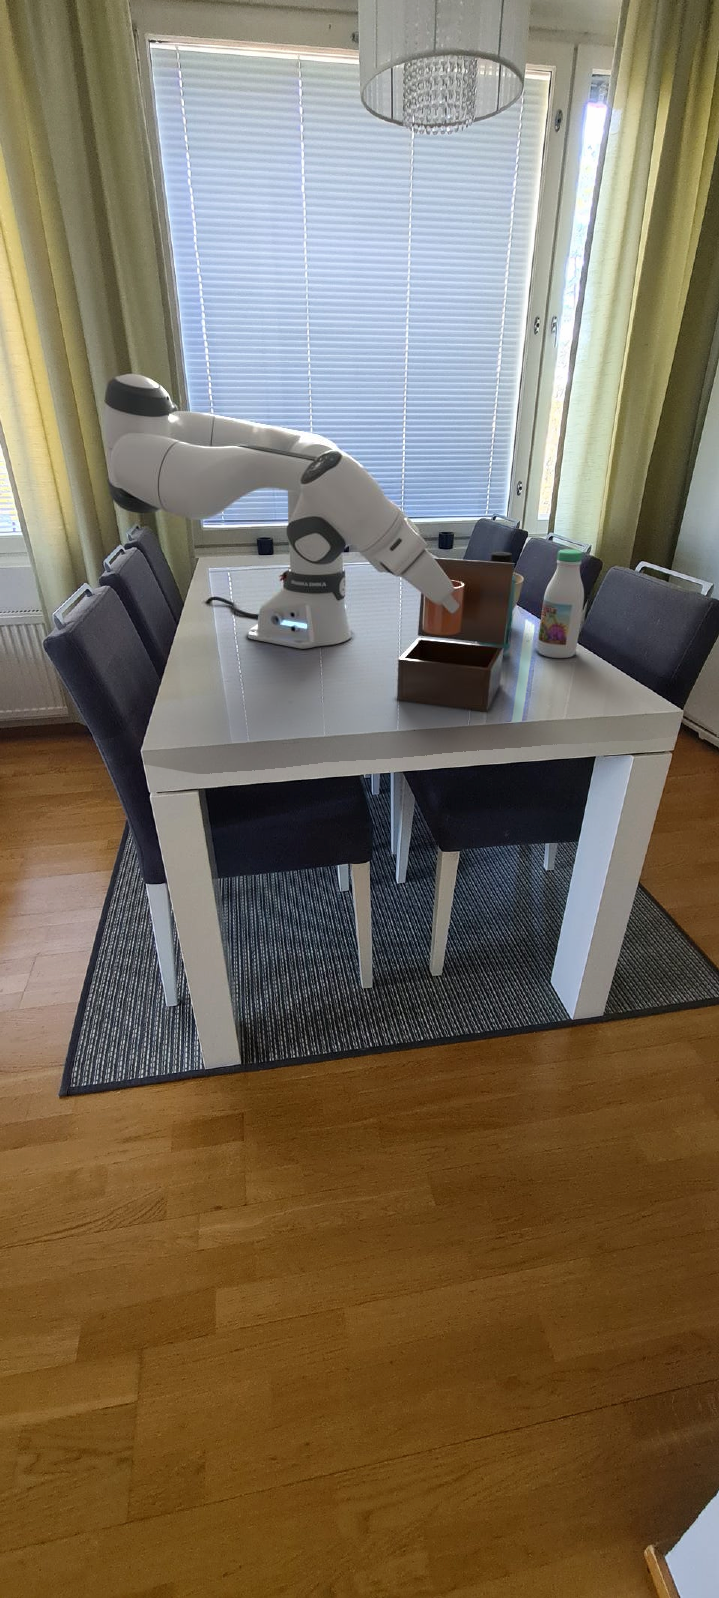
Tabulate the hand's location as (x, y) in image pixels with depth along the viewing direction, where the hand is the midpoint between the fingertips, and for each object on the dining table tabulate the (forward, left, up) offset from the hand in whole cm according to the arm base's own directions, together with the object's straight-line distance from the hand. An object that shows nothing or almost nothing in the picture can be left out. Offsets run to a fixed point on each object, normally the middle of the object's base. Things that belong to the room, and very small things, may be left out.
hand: (447, 603), depth 114 cm
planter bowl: (-1, +45, -16) cm, 48 cm away
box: (+1, +1, -16) cm, 16 cm away
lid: (+1, +8, -1) cm, 8 cm away
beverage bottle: (+5, +24, -16) cm, 29 cm away
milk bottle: (+17, +30, -16) cm, 38 cm away
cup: (-1, 0, -4) cm, 4 cm away
